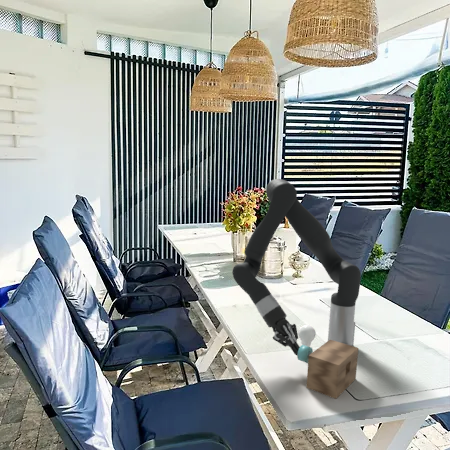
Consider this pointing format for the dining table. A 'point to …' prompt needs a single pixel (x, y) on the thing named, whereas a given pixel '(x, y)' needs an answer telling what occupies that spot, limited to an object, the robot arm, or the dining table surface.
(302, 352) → the knob
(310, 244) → the robot arm
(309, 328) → the lightbulb
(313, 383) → the mount
